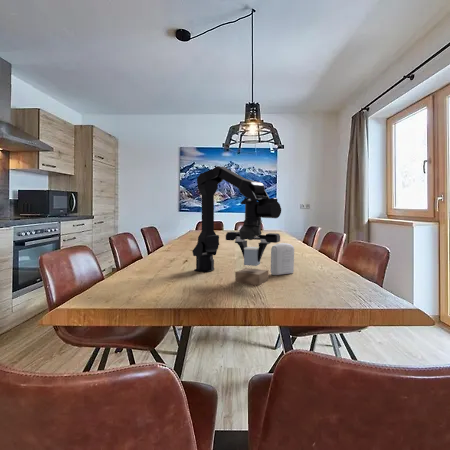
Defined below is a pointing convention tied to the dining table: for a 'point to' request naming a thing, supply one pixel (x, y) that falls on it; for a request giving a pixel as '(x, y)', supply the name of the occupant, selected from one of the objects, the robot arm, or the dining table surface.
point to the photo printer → (282, 259)
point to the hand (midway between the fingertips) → (252, 261)
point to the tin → (251, 256)
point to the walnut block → (251, 276)
